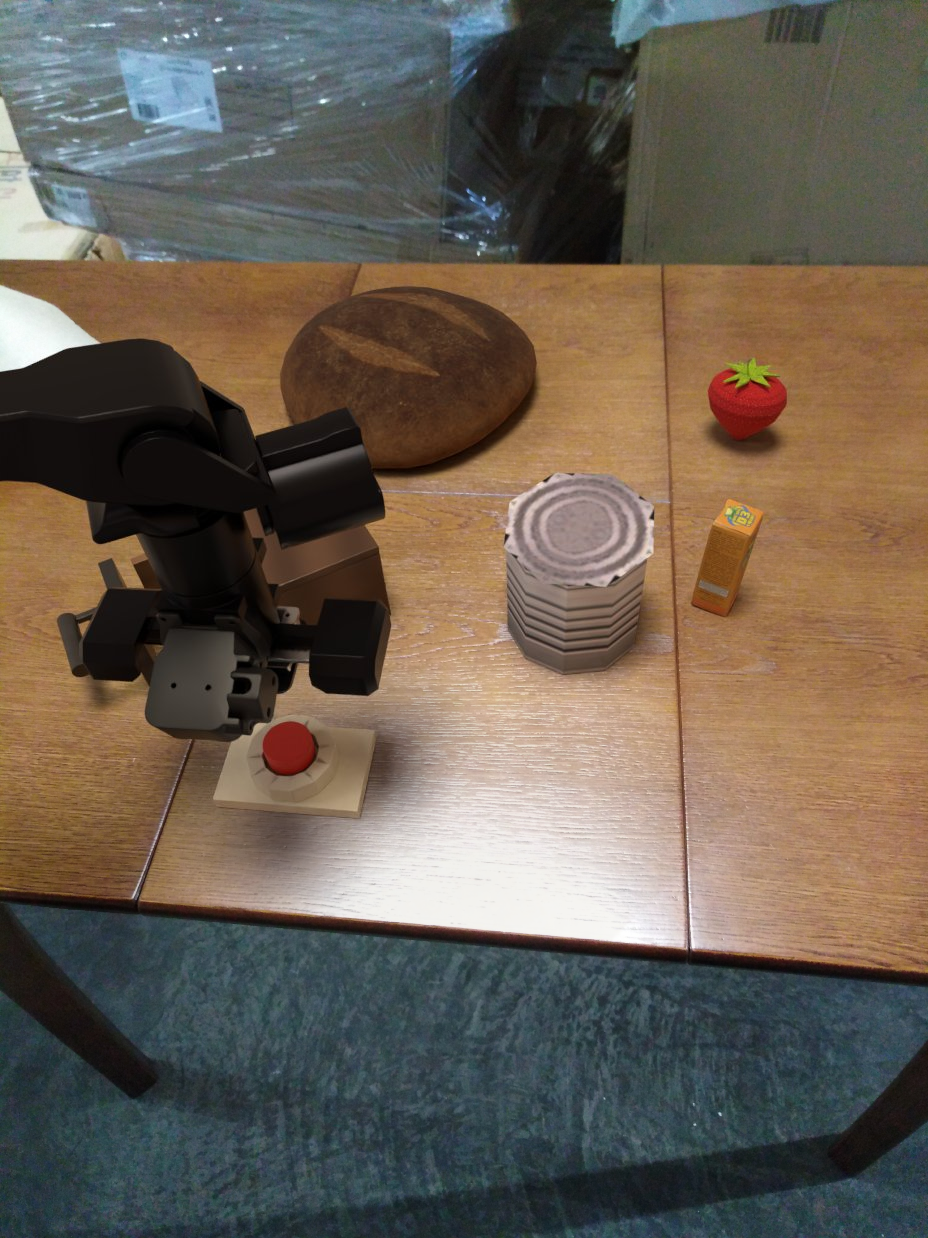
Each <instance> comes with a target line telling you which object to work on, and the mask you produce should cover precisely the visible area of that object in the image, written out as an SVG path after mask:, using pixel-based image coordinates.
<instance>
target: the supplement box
mask: <svg viewBox="0 0 928 1238" xmlns="http://www.w3.org/2000/svg"><path fill="white" fill-rule="evenodd" d="M764 516H765V512H763V511H762V510H759V509H757V508H755V507H752V506H749V505H747V504H744V503H741V502H739V501H736V500H733V499H730V498H727V500H726V502H725V505H724V506H723V508H722V509H721V511H720V512H719V514H718V516H717V517H716V518H715V520H714V521H713V523H712V525H711V527H710V531H709V535H708V537H707V542H706V545H705V548H704V551H703V555H702V559H701V563H700V566H699V569H698V574H697V577H696V580H695V586H694V588H693V593H692V596H691V600H690V601H691V602H690V603H691V604H692V605H693V606H695V607H698V608H700V609H703V610H705V611H707V612H708V611H709V612H710V613H712V614H715V615H718V616H721V617H727V615H728V613H729V611H730V609H731V608H732V607H733V604H734V602H735V600H736V598H737V596H738V594H739V591H740V588H741V585H742V581H743V579H744V576H745V573H746V570H747V566H748V564H749V560H750V558H751V556H752V555H751V554H752V552H753V549H754V546H755V543H756V539H757V537H758V534H759V531H760V527H761V525H762V522H763V520H764Z"/></svg>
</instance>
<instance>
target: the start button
mask: <svg viewBox="0 0 928 1238" xmlns="http://www.w3.org/2000/svg"><path fill="white" fill-rule="evenodd" d="M262 748H263V752H264V754H265V757H266V759H267V761H268V764H269V766H270V767H271V768H272V769H273V770H274V771H276V772H278V773H280V774H285V775H291V774H296V773H299V772H301V771H303V770H304V769H306V768H307V767H308V766H309V765H310V764H311V762H312V760H313V758H314V756H315V745H314V742H313V739H312V736H311V734H310V731H309V730H308V728H307V727H306V726H304V725H303V724H301V723H298V722H294V721H287V722H282V723H279V724H277V725H275V726H274V727H272V728H271V729H270V730H269V731H268V732H267V734H266V735H265V737H264V739H263V743H262Z"/></svg>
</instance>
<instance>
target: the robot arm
mask: <svg viewBox="0 0 928 1238" xmlns="http://www.w3.org/2000/svg"><path fill="white" fill-rule="evenodd" d="M0 482H1V483H4V482H10V483H12V482H14V483H25V484H37V485H41V486H43V487H46V488H49V489H51V490H55V491H57V492H60V493H62V494H65V495H67V496H70V497H73V498H76V499H78V500H81V501H84V502H85V504H86V510H87V517H88V522H89V527H90V533H91V539H92V541H93V542H94V543H95V544H97V545H106V544H108V543H112V542H115V541H119V540H123V539H125V538H128V537H133V536H136V538H137V540H138V542H139V544H140V546H141V548H142V551H143V552H144V553H143V554H145V555H146V557H147V559H148V561H149V563H150V565H151V567H152V569H153V571H154V573H155V576H156V578H157V580H158V582H159V584H160V586H161V588H162V589H148V588H144V587H128V586H127V587H115V588H108V589H107V588H106V590H105V592H103V594H102V596H101V597H100V599H99V601H98V602H97V603H98V604H97V605H96V606H95V607H96V609H95V612H94V614H93V616H92V618H91V620H89V621H88V624H87V626H86V628H85V631H84V633H83V635H82V639H81V641H80V643H79V658H80V659H81V661H82V662H83V664H84V665H85V667H86V668H87V670H88V672H89V673H90V674H89V675H90V676H91V678H92V679H93V680H94V681H107V682H108V681H109V682H127V683H133V682H134V681H136V680H137V679H138V678H139V677H140V676H141V675H142V673H141V672H142V670H143V666H142V665H141V663H140V661H139V659H138V658H139V656H140V654H141V651H142V649H143V647H144V644H146V645H153V646H162V648H161V649H160V650H159V651H158V653H156V658H155V662H154V667H153V672H152V677H151V682H150V687H149V686H148V692H147V696H146V701H145V707H144V717H145V720H146V722H147V723H148V724H149V725H150V726H152V727H153V728H155V729H157V730H159V731H161V732H163V733H165V734H167V735H168V736H171V737H173V738H174V739H177V740H197V741H212V742H218V743H219V742H220V743H231V742H232V741H235V740H237V739H238V738H240V737H241V736H242V735H248V736H250V735H252V733H253V729H254V726H255V725H256V724H258V723H270V722H271V721H273V718H274V716H275V708H276V702H277V696H278V695H282V694H285V693H287V692H288V691H289V690H290V689H291V688H292V687H293V684H294V681H295V677H296V674H297V671H298V667H299V664H303V665H305V664H306V665H308V677H309V681H310V684H311V686H312V687H314V688H316V689H317V690H319V691H321V692H323V693H324V694H328V695H341V696H359V697H368V696H370V695H372V694H373V693H375V692H377V691H378V690H379V688H380V683H381V679H382V672H383V670H384V669H383V668H384V664H385V658H386V654H387V650H388V645H389V639H390V635H391V628H392V620H391V615H390V614H389V609H388V608H387V606H386V605H385V604H384V603H383V602H382V600H378V599H357V598H336V597H329V598H325V599H324V602H323V605H322V609H321V613H320V616H319V620H318V624H317V625H307V624H306V622H305V621H304V620H303V619H299V616H300V610H299V608H297V607H283V606H278V604H279V601H280V597H281V591H280V588H279V585H278V584H270V583H267V580H266V577H265V574H264V571H263V568H262V563H263V560H264V557H265V554H266V551H267V548H266V545H265V542H264V539H263V538H253V537H252V535H251V532H250V529H249V526H248V523H247V520H246V517H245V514H244V512H245V511H248V510H251V509H255V508H256V511H257V514H258V517H259V520H260V523H261V526H262V528H263V531H264V534H265V536H268V535H272V534H274V532H275V531H276V534H277V538H278V541H279V544H280V546H281V549H282V550H283V549H286V548H289V547H290V548H291V547H294V546H298V545H301V544H304V543H307V542H311V541H314V540H317V539H320V538H324V537H327V536H330V535H333V534H337V533H340V532H343V531H346V530H350V529H353V528H356V527H359V526H362V525H365V526H366V525H368V524H369V525H370V524H371V523H375V522H378V521H379V522H380V521H381V520H384V519H385V518H386V503H385V498H384V494H383V490H382V488H381V486H380V484H379V482H378V480H377V478H376V475H375V473H374V469H373V468H372V467H371V463H370V460H369V457H368V455H367V452H366V449H365V446H364V444H363V439H362V434H361V429H360V427H359V425H358V423H357V421H356V419H355V417H354V415H353V413H352V411H351V409H350V408H348V407H344V408H341V409H337V410H334V411H330V412H327V413H325V414H323V415H321V416H319V417H317V418H315V419H312V420H310V421H306V422H302V423H299V424H295V423H294V424H292V425H288V426H285V427H281V428H278V429H273V430H271V431H266V432H264V433H261V434H257V435H255V434H254V431H253V429H252V426H251V423H250V421H249V418H248V416H247V412H246V410H245V408H244V407H243V406H241V405H240V404H238V403H237V402H235V401H233V400H232V399H230V398H229V397H227V396H225V395H224V394H223V393H220V392H219V391H217V390H216V389H215V388H213V387H212V386H210V385H207V384H206V383H205V382H203V381H202V380H200V379H199V376H198V374H197V373H196V371H195V369H194V368H193V366H192V364H191V363H190V362H189V361H188V360H187V359H186V358H185V357H184V356H182V355H181V354H180V353H179V352H177V350H175V349H174V347H173V346H172V345H170V344H167V343H164V342H163V341H160V340H156V339H149V338H144V337H142V338H141V337H139V338H127V339H120V340H113V341H107V342H101V343H93V344H87V345H86V344H85V345H80V346H73V347H67V348H64V349H61V350H60V351H58V352H56V353H53V354H51V355H49V356H46V357H44V358H42V359H40V360H37V361H35V362H33V363H31V364H29V365H26V366H24V367H21V368H15V369H14V368H13V369H8V370H2V371H0ZM157 614H158V615H157Z"/></svg>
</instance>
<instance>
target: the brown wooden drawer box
mask: <svg viewBox="0 0 928 1238" xmlns="http://www.w3.org/2000/svg"><path fill="white" fill-rule="evenodd" d="M244 514H245V517H246V520H247V523H248V526H249V529H250V532H251V535H252V537H253V538H263V539H264V542H265V545H266V548H267V551H266V554H265V557H264V560H263V563H262V568H263V571H264V574H265V577H266V580H267V583H270V584H278V585H279V588H280V591H281V597H280V601H279V604H278V606H283V607H297V608H299V610H300V616H299V619H303V620H304V621H305V622H306V624H307V625H317V624H318V620H319V616H320V613H321V609H322V605H323V602H324V599H325V598H329V597H336V598H357V599H378V600H382V602H383V603H384V604H385V605H386V606H387V608H388V609H389V614H390V616H391V615H392V612H391V608H390V601H389V597H388V591H387V585H386V579H385V575H384V570H383V563H382V559H381V558H382V557H381V552H380V547H379V544H377V541H376V540H375V539H374V537H373V536H372V534H371V532H370V531H369V530H368V528H367V526H366V525H362V526H359V527H356V528H353V529H350V530H346V531H343V532H340V533H337V534H333V535H330V536H327V537H324V538H320V539H317V540H314V541H311V542H307V543H304V544H301V545H298V546H294V547H291V548H290V547H289V548H286V549H283V550H282V549H281V546H280V544H279V541H278V538H277V534H276V531H275V532H274V534H272V535H268V536H265V534H264V531H263V528H262V526H261V523H260V520H259V517H258V514H257V511H256V508H255V509H251V510H248V511H245V512H244Z"/></svg>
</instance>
